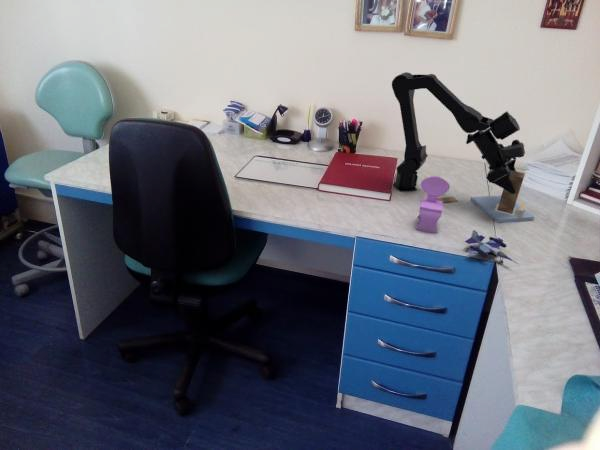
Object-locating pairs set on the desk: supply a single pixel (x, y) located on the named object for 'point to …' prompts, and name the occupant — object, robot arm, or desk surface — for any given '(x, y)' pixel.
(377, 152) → the desk surface
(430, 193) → the toy chair
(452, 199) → the wing slat
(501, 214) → the board
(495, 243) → the toy airplane
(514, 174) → the block
